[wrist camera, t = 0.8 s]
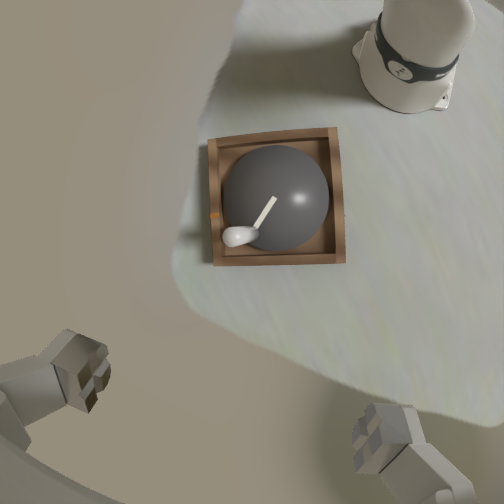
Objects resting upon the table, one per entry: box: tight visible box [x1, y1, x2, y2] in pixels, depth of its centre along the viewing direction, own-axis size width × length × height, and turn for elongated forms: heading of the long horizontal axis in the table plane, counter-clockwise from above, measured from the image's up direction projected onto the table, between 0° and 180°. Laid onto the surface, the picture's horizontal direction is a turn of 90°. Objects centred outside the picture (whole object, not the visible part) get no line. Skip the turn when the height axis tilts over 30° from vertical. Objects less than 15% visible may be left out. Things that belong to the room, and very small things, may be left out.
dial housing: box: [208, 127, 346, 266], centre depth 46 cm, size 20×20×4 cm
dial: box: [222, 145, 329, 251], centre depth 41 cm, size 16×16×11 cm
